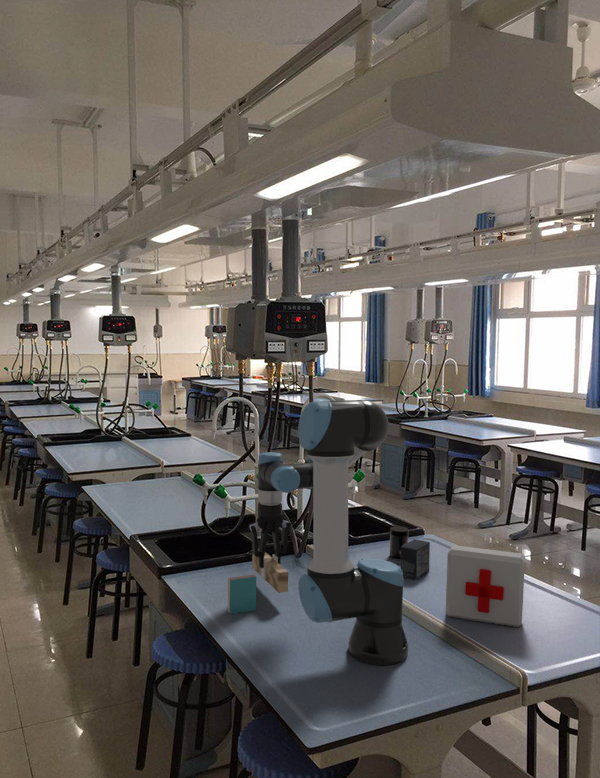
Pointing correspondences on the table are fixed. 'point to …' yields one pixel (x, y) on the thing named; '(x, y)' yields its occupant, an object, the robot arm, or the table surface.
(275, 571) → the push bar
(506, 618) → the bevelled white case
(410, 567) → the small box
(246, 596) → the tile
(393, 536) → the supplement container
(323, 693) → the table surface
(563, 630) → the table surface
